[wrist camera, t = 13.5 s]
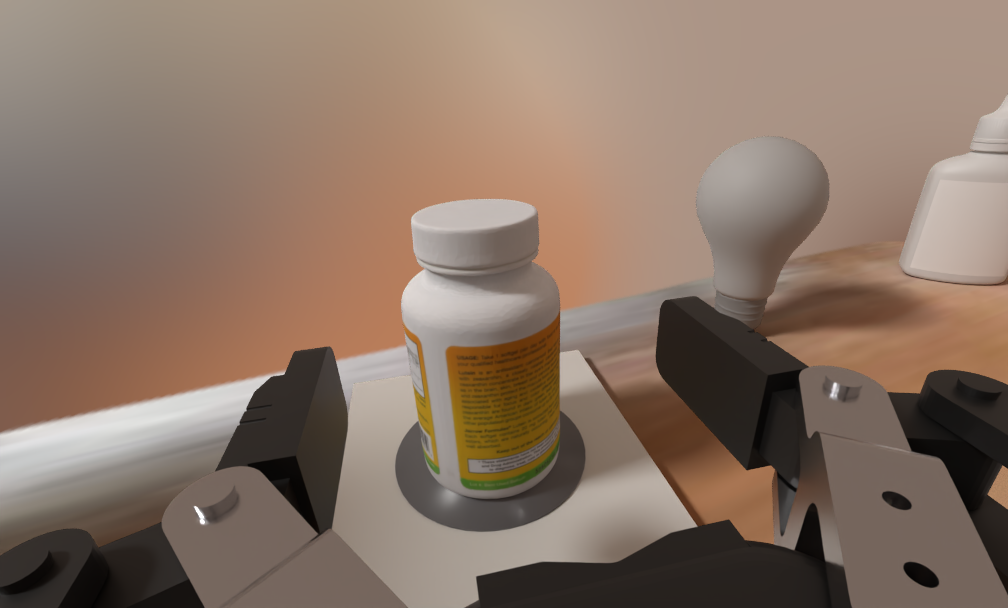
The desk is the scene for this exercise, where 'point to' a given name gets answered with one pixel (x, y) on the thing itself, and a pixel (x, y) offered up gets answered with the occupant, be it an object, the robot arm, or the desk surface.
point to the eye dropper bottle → (964, 212)
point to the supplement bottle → (483, 347)
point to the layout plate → (495, 522)
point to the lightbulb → (758, 217)
